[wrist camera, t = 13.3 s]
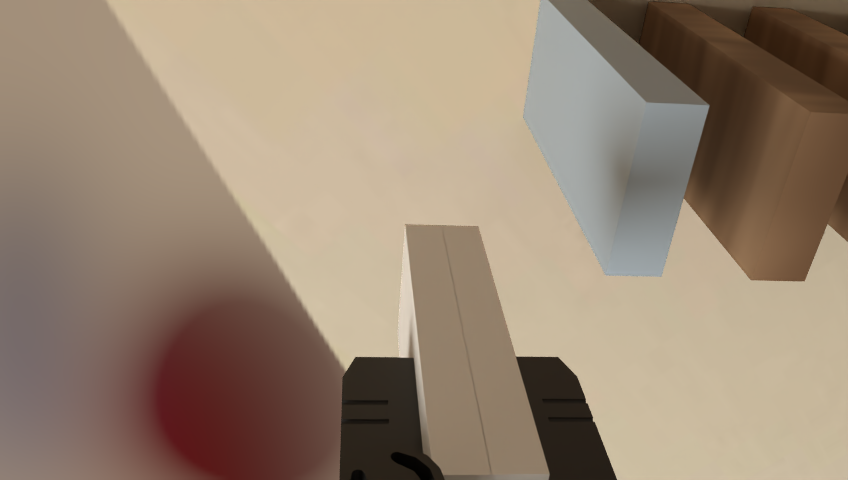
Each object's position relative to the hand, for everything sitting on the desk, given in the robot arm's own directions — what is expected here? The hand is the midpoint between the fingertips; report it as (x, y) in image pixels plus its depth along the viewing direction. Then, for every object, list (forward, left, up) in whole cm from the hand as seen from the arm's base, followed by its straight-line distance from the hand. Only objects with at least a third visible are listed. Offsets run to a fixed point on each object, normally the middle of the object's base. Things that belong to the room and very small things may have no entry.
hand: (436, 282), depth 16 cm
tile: (+3, +5, -16) cm, 17 cm away
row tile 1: (+6, +9, -16) cm, 19 cm away
